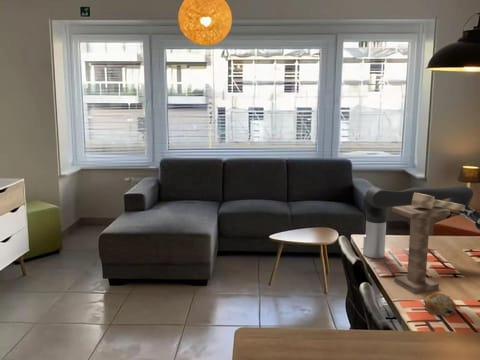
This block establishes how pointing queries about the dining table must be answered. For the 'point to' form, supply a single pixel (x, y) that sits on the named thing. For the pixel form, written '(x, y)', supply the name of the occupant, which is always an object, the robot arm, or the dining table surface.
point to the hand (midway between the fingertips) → (464, 209)
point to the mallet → (433, 202)
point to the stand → (418, 246)
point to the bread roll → (439, 304)
